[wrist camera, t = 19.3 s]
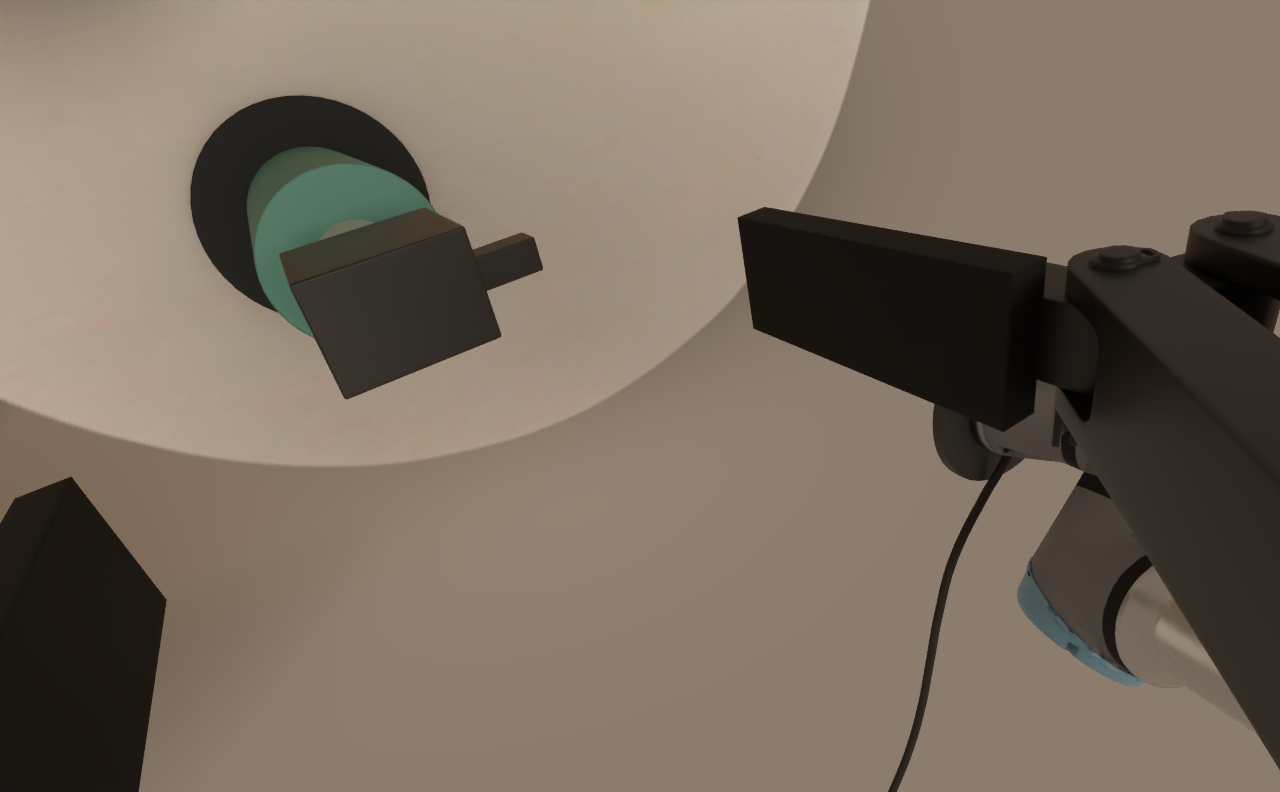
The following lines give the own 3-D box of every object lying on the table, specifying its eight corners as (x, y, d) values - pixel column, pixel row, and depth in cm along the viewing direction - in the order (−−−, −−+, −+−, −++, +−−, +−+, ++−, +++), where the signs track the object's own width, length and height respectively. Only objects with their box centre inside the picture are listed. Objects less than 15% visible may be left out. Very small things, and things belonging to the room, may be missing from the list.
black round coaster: (457, 277, 39) (460, 278, 39) (259, 348, 35) (259, 352, 35) (382, 71, 34) (385, 70, 33) (140, 130, 30) (139, 130, 30)
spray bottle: (283, 294, 35) (333, 467, 18) (220, 167, 31) (207, 232, 15) (422, 247, 37) (580, 359, 20) (376, 125, 34) (517, 140, 17)
